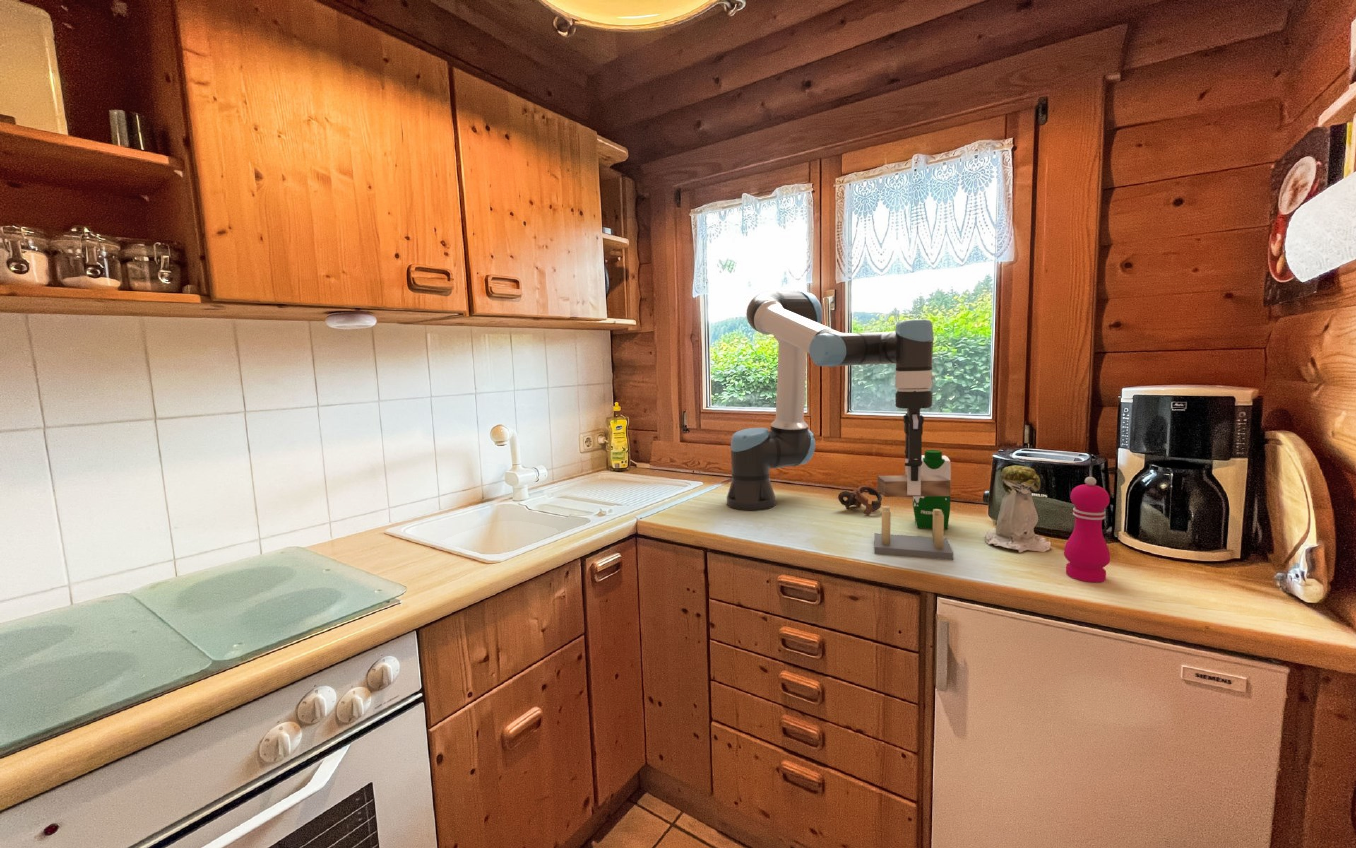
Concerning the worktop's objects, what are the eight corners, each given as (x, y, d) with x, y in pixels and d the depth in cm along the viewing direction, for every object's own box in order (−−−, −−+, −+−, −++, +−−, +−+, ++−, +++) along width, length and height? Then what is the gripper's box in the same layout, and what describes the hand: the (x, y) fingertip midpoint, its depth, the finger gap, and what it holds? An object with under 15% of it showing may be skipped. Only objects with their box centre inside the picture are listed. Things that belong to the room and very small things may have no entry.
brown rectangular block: (939, 489, 123) (939, 474, 123) (950, 496, 117) (950, 480, 117) (877, 490, 125) (877, 475, 124) (885, 496, 119) (885, 481, 118)
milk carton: (914, 529, 136) (915, 452, 134) (911, 518, 145) (912, 446, 142) (952, 531, 133) (953, 453, 131) (946, 520, 142) (948, 447, 140)
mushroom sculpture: (973, 537, 129) (975, 462, 127) (1023, 534, 130) (1026, 460, 128) (1006, 554, 117) (1009, 472, 115) (1061, 551, 118) (1065, 469, 116)
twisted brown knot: (868, 506, 160) (879, 486, 156) (876, 528, 152) (889, 507, 148) (830, 498, 159) (841, 477, 154) (837, 520, 151) (848, 499, 147)
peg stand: (874, 553, 121) (874, 515, 120) (874, 539, 130) (874, 503, 129) (953, 559, 115) (953, 519, 114) (946, 544, 124) (947, 507, 123)
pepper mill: (1053, 570, 108) (1058, 474, 105) (1086, 568, 108) (1092, 472, 106) (1083, 585, 101) (1089, 482, 98) (1119, 582, 101) (1125, 480, 99)
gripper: (937, 392, 108) (935, 502, 110) (927, 387, 126) (926, 481, 129) (897, 393, 110) (896, 500, 113) (893, 387, 129) (893, 480, 131)
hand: (912, 490), depth 121 cm, fingers closed on brown rectangular block, 7 cm apart
